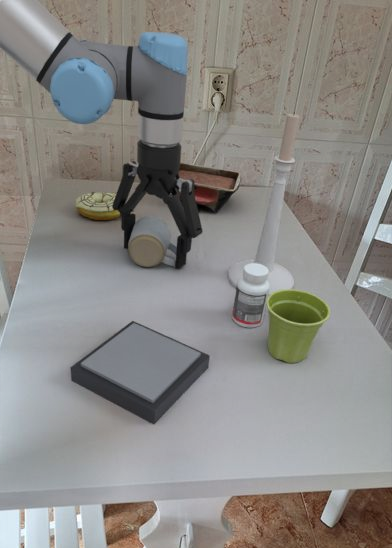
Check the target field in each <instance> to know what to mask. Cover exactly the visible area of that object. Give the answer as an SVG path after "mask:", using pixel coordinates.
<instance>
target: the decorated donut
mask: <svg viewBox="0 0 392 548" xmlns="http://www.w3.org/2000/svg"><path fill="white" fill-rule="evenodd" d="M116 194H117V193H114V192H108V191H91V192H88V193H84V194H81V195H80V196H79V197H77V198H76V200H75V208H76V210H77V212H78V214H80V215H82V216H83V217H85V218H88V219H90V220H95V221H110V220H111V221H112V220H116V219H117V218H119V217H121V215H120V212H119V211H117V210H114V209H113V208H112V205H113V202H114V199H115V196H116Z"/></svg>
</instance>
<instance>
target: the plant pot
mask: <svg viewBox="0 0 392 548" xmlns="http://www.w3.org/2000/svg"><path fill="white" fill-rule="evenodd" d="M266 308H267V312H268V317H269V319H268V339H267V350H268V352H269V354H270V356H272V357H273V358H274V359H276V360H281V361H284V362H285V363H288V364H294V363H295V364H296V363H300V362H301V361H303V360H305V358H306V357H307V355H308V353H309V351H310V349H311V346H312V344H313V343H314V341H315V338H316V336H317V334H318V332H319V330H320V328H321V327H322V326H323V325H324V323H325V322H327V321H328V320H329V318H330V316H331V308H330V306H329V305H328V304H327V302H326V301H325V300H324V299H322V298H320V296H318V295H315V294H314V293H311V292H308V291H305V290H300V289H294V288H293V289H285V290H279V291H276V292H273V293H272V294H270V295H269V296H268V298H267V300H266Z"/></svg>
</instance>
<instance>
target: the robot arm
mask: <svg viewBox="0 0 392 548" xmlns="http://www.w3.org/2000/svg"><path fill="white" fill-rule="evenodd" d="M138 40H139V41H138V43H137V45H133V46H131V45H120V44H111V43H104V42H95V41H87V39H78V38H77V37H76V36H74V34H73V33H72V32H70V30H69V29H67V27H66V26H64V25H63V23H62V22H61V21H60V20H59V19H58V18H57V17H55V16H54V15H53V14H52V13H51V12H50V11H49V10H48V9H47V8H46V7H45V6H44V5H43V4H42V3H41V2H40V1H39V0H0V50H1V52H3V53H4V54H5V55H6V56H7V57H8V58H9V59H10V60H12V61H13V62H14V63H15V64H17V65H18V67H20V68H21V69H22V70H23V71H24V72H26V73H27V74H28V75H29V76H30V77H31V78H32V79H33V80H35V81H36V82H37V83H38V84H39V85H41V86H42V88H44V89H45V90H46V91H47V92H48V93H49V94H50V97H51V100H52V102H53V103H52V104H53V105H54V106H55V109H56V110H57V111H58V113H59V114H60V115H61V116H62V117H63V118H65V119H66V120H67V121H69V122H71V123H74V124H77V125H89V124H93V123H95V122H97V121H98V120H100V119H101V118H102V117H103V116H104V115H106V114H107V113H108V112H109V110H110V108H111V107H112V103H113V102H114V100H119V101H128V102H133V101H134V102H137V105H138V107H137V134H136V136H137V138H138V141H137V143H136V147H137V148H136V161H137V162H136V161H134V160H132V161H129V162H126V163H124V164H123V165H122V177H121V179H120V182H119V185H118V188H117V191H116V193H115V194H116V196H115V199H114V202H113V205H112V208H113V209H114V210H117V211H119V212H120V228H121V231H123V249H125V250H128V244H129V240H130V237H131V233H132V230H133V227H134V224H135V223H136V221H137V220H136V217H137V216H136V213H133V212H134V211H135V210H134V209H136V208H137V206H138V205H139V203H140V202H141V201H142V199H143V198H144V197H145V196H146V194H147V195H150V196H155V197H156V198H159V199H162V201H163V203H164V204H165V205H167V207H168V210H169V212H170V214H171V216H172V218H173V220H174V223H175V225H176V227H177V229H178V231H179V234H180V235H178V236H177V237H176V238H177V239H176V246H177V249H176V255H175V260H176V262H175V267H174V269H176V270H180V269H181V268H182V267H184V266H185V265H186V264H187V256H188V253H189V252H191V250H192V243H193V239H195V238H197V237H199V236H200V235H202V234H203V232H204V231H203V227H202V222H201V218H200V212H199V209H198V204H196V200H195V195H194V184H195V183H194V180H193V179H189V180H185V179H181V178H180V176H179V172H178V170H179V166H180V163H181V159H182V157H181V156H182V145H181V142H182V140H183V130H184V129H183V128H184V117H185V115H184V114H185V103H186V89H187V79H188V56H189V55H188V53H189V46H188V45H189V44H188V43H187V40H186V39H185V38H184V36H183V37H182V36H181V35H179V34H175V33H169V32H162V31H161V32H159V31H158V32H157V31H156V32H155V31H144V32H142V33H141V34H140V35H139V39H138ZM136 177H138V179H139V181H140V182H139V183H138V185H137V186H136V187H135V188H134V191H133V192H132V194H131V195H130V193H131V190H132V187H133V185H134V182H135V179H136ZM177 186H179V192H181V199H182V201H180V199H179V198H180V195H179V193H178V190H177V188H176V187H177ZM170 195H171V196H170ZM129 196H130V197H129Z"/></svg>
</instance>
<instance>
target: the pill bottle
mask: <svg viewBox="0 0 392 548" xmlns="http://www.w3.org/2000/svg"><path fill="white" fill-rule="evenodd" d="M268 273H269V270H268V268H267V267H265V266H264V265H261V264H257V263H250V264H247V265H245V266H244V270H243V276H242V277H241V278H239V280H238V282H237V287H235V288H236V289H235V293H234V301H233V307H232V312H231V313H232V314H231V318H232V321H233V322H234V323H235V324H236V325H238V326H240V327H242V328H243V327H244V328H248V329H249V328H250V329H251V328H257V327H259V326H260V325H262V324H263V322H264V318H265V314H266V313H265V312H266V308H267V306H266V300H267V298H268V294H269V290H270V284H269V282H268V281H267V278H268Z"/></svg>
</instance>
